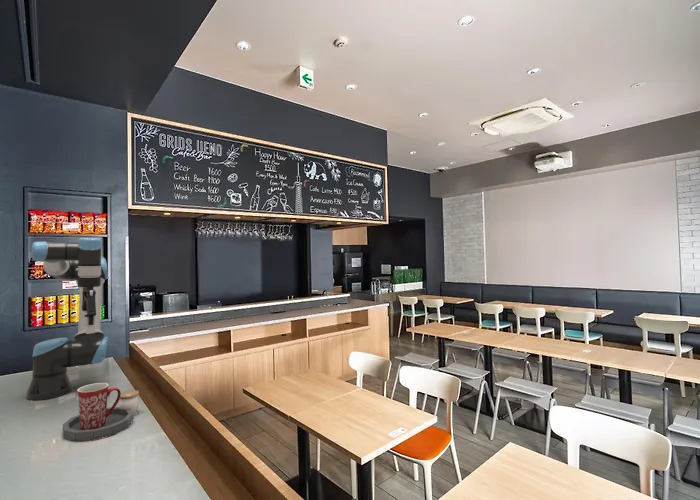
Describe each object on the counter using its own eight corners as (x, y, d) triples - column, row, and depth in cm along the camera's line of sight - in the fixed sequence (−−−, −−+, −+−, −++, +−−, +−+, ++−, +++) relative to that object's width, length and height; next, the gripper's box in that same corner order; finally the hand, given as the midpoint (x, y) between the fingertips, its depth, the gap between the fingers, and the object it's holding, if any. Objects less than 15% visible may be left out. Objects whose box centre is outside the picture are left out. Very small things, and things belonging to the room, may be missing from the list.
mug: (76, 434, 120) (77, 393, 120) (76, 424, 127) (77, 386, 128) (121, 424, 128) (122, 385, 128) (118, 415, 135) (119, 378, 135)
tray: (61, 425, 129) (61, 417, 129) (126, 410, 142) (126, 402, 142) (64, 448, 114) (65, 438, 114) (137, 428, 127) (137, 420, 127)
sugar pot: (116, 413, 139) (117, 392, 139) (136, 408, 143) (136, 388, 144) (120, 419, 134) (120, 397, 134) (140, 414, 138) (140, 393, 139)
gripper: (74, 274, 151) (73, 325, 151) (81, 279, 132) (79, 337, 132) (96, 274, 156) (95, 323, 156) (105, 278, 137) (104, 334, 137)
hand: (88, 330), depth 144 cm, fingers open, 13 cm apart
